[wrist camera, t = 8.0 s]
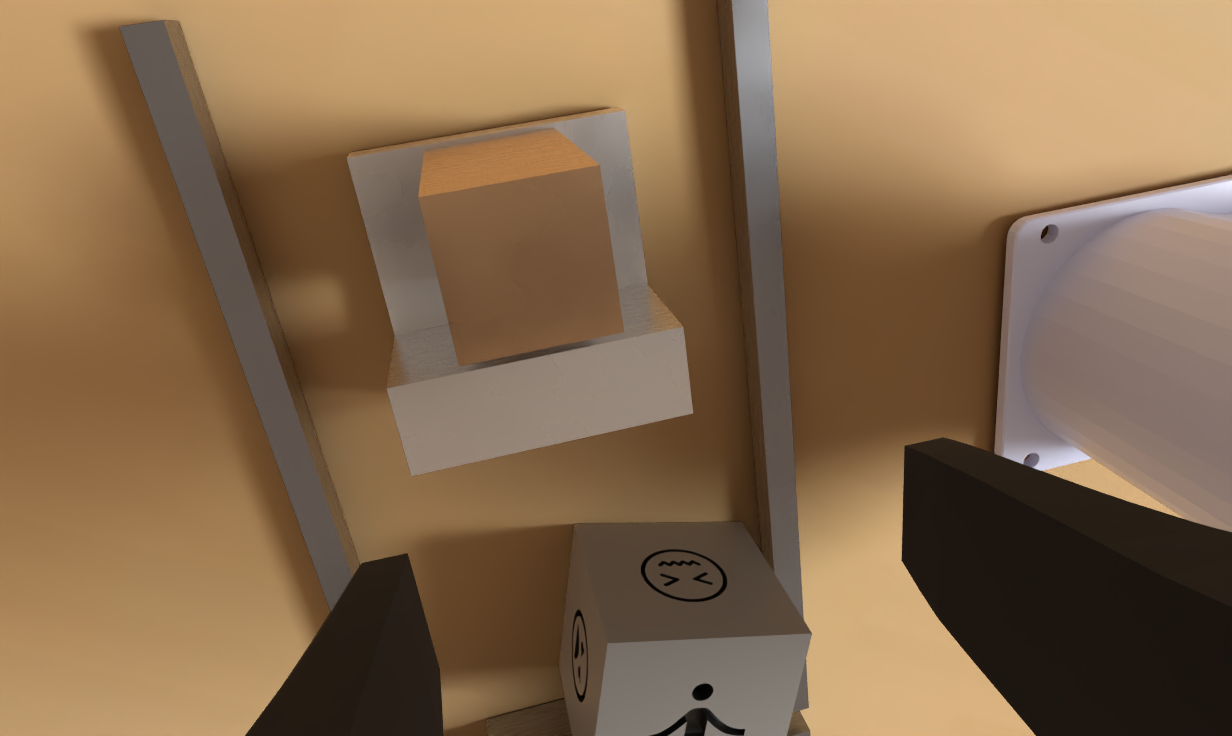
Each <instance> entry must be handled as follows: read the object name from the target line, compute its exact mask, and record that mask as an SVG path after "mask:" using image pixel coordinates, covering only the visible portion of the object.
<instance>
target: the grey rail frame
mask: <svg viewBox="0 0 1232 736" xmlns="http://www.w3.org/2000/svg"><path fill="white" fill-rule="evenodd" d="M717 7H718V20H719V32H720V44H721V56H722V69H723V81H724V93H725V105H726V118H727V130H728V142H729V155H730V167H731V179H732V191H733V204H734V216H735V228H736V241H737V253H738V265H739V277H740V290H741V302H742V314H743V327H744V339H745V351H746V363H747V376H748V388H749V400H750V412H751V425H752V437H753V449H754V462H755V474H756V486H757V498H758V511H759V523H760V535H761V548H762V555H763V556H764V558H765V559H766V561H767V562H768V564H769V566H770V567H771V569H772V570H773V572H774V574H775V575H776V577H777V578H778V580H779V582H780V583H781V585H782V586H783V588H784V590H785V591H786V593H787V594H788V596H789V598H790V599H791V601H792V602H793V604H794V606H795V607H796V609H797V610H798V612H799V614H800V615H801V617H802V618H803V601H802V584H801V567H800V549H799V532H798V515H797V498H796V480H795V463H794V446H793V429H792V412H791V394H790V377H789V360H788V343H787V326H786V308H785V291H784V274H783V257H782V239H781V222H780V205H779V188H778V171H777V153H776V136H775V119H774V102H773V84H772V67H771V50H770V33H769V16H768V0H717ZM119 28H120V31H121V33H122V36H123V39H124V42H125V44H126V47H127V50H128V53H129V55H130V58H131V61H132V64H133V67H134V69H135V72H136V75H137V78H138V80H139V83H140V86H141V89H142V91H143V94H144V97H145V100H146V102H147V105H148V108H149V111H150V114H151V116H152V119H153V122H154V125H155V127H156V130H157V133H158V136H159V138H160V141H161V144H162V147H163V150H164V152H165V155H166V158H167V161H168V163H169V166H170V169H171V172H172V174H173V177H174V180H175V183H176V186H177V188H178V191H179V194H180V197H181V199H182V202H183V205H184V208H185V210H186V213H187V216H188V219H189V221H190V224H191V227H192V230H193V233H194V235H195V238H196V241H197V244H198V246H199V249H200V252H201V255H202V257H203V260H204V263H205V266H206V269H207V271H208V274H209V277H210V280H211V282H212V285H213V288H214V291H215V293H216V296H217V299H218V302H219V305H220V307H221V310H222V313H223V316H224V318H225V321H226V324H227V327H228V329H229V332H230V335H231V338H232V341H233V343H234V346H235V349H236V352H237V354H238V357H239V360H240V363H241V365H242V368H243V371H244V374H245V376H246V379H247V382H248V385H249V388H250V390H251V393H252V396H253V399H254V401H255V404H256V407H257V410H258V412H259V415H260V418H261V421H262V424H263V426H264V429H265V432H266V435H267V437H268V440H269V443H270V446H271V448H272V451H273V454H274V457H275V460H276V462H277V465H278V468H279V471H280V473H281V476H282V479H283V482H284V484H285V487H286V490H287V493H288V495H289V498H290V501H291V504H292V507H293V509H294V512H295V515H296V518H297V520H298V523H299V526H300V529H301V531H302V534H303V537H304V540H305V543H306V545H307V548H308V551H309V554H310V556H311V559H312V562H313V565H314V567H315V570H316V573H317V576H318V579H319V581H320V584H321V587H322V590H323V592H324V595H325V598H326V601H327V603H328V606H329V609H330V612H331V611H332V609H333V607H334V606H335V604H336V603H337V601H338V599H339V598H340V596H341V594H342V593H343V591H344V589H345V588H346V586H347V585H348V583H349V581H350V580H351V578H352V577H353V575H354V573H355V572H356V571H357V569H358V568H359V566H360V564H359V561H358V558H357V555H356V552H355V549H354V546H353V543H352V540H351V537H350V534H349V531H348V528H347V525H346V522H345V519H344V516H343V513H342V510H341V507H340V504H339V501H338V498H337V495H336V492H335V489H334V486H333V483H332V480H331V477H330V474H329V471H328V468H327V465H326V462H325V459H324V456H323V453H322V450H321V447H320V444H319V441H318V438H317V435H316V432H315V429H314V426H313V423H312V420H311V417H310V414H309V411H308V408H307V405H306V402H305V399H304V396H303V393H302V390H301V387H300V384H299V381H298V378H297V375H296V372H295V369H294V366H293V363H292V360H291V357H290V354H289V351H288V348H287V345H286V342H285V339H284V336H283V333H282V330H281V327H280V324H279V321H278V318H277V315H276V312H275V309H274V306H273V303H272V300H271V297H270V294H269V291H268V288H267V285H266V282H265V278H264V275H263V272H262V269H261V266H260V263H259V260H258V257H257V254H256V251H255V248H254V245H253V242H252V239H251V236H250V233H249V230H248V227H247V224H246V221H245V218H244V215H243V212H242V209H241V206H240V203H239V200H238V197H237V194H236V191H235V188H234V185H233V182H232V179H231V176H230V173H229V170H228V167H227V164H226V161H225V158H224V155H223V152H222V149H221V146H220V143H219V140H218V137H217V134H216V131H215V128H214V125H213V122H212V119H211V116H210V113H209V110H208V107H207V104H206V101H205V98H204V95H203V92H202V89H201V86H200V83H199V80H198V77H197V74H196V71H195V68H194V65H193V62H192V59H191V56H190V53H189V50H188V47H187V44H186V41H185V38H184V35H183V32H182V29H181V26H180V23H179V21H169V20H162V21H155V22H148V23H141V24H134V25H127V26H120V27H119ZM803 620H804V618H803ZM806 708H809V704H808V687H807V670H806V660H805V664H804V668H803V672H802V676H801V680H800V684H799V688H798V692H797V696H796V700H795V704H794V709H793V713H792V717H791V721H790V725H789V729H788V733H787V736H810V730H809V728H808V726H807V724H806V722H805V720H804V718H803V716H802V715H801V713H800V711H799V710H803V709H806ZM486 722H487V736H572V733H571V728H570V723H569V717H568V712H567V707H566V702H565V699H562V700H558V701H554V702H550V703H546V704H543V705H539V706H535V707H531V708H527V709H524V710H520V711H516V712H512V713H509V714H505V715H501V716H497V717H493V718H490V719H486Z"/></svg>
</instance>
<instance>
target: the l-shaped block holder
mask: <svg viewBox="0 0 1232 736" xmlns="http://www.w3.org/2000/svg"><path fill="white" fill-rule="evenodd" d="M347 162H348V166H349V169H350V173H351V177H352V180H353V184H354V188H355V191H356V195H357V199H358V202H359V206H360V210H361V213H362V217H363V221H364V224H365V228H366V232H367V235H368V239H369V243H370V246H371V250H372V254H373V257H374V261H375V265H376V269H377V272H378V276H379V280H380V283H381V287H382V291H383V294H384V298H385V302H386V305H387V309H388V313H389V316H390V320H391V324H392V327H393V331H394V341H393V348H392V355H391V361H390V368H389V375H388V382H387V388H386V389H387V392H388V396H389V399H390V403H391V406H392V410H393V413H394V417H395V420H396V424H397V428H398V431H399V435H400V438H401V442H402V445H403V449H404V452H405V456H406V459H407V463H408V466H409V470H410V473H411V476H415V475H419V474H424V473H428V472H433V471H437V470H442V469H446V468H451V467H455V466H460V465H464V464H469V463H473V462H478V461H482V460H487V459H491V458H496V457H500V456H505V455H509V454H514V453H518V452H523V451H527V450H532V449H536V448H541V447H545V446H550V445H554V444H559V443H563V442H568V441H572V440H576V439H581V438H585V437H590V436H594V435H599V434H603V433H608V432H612V431H617V430H621V429H626V428H630V427H635V426H639V425H644V424H648V423H653V422H657V421H662V420H666V419H671V418H675V417H680V416H684V415H689V414H693V406H692V398H691V389H690V380H689V371H688V363H687V354H686V345H685V336H684V327H683V326H682V324H681V323H680V322H679V321H678V320H677V319H676V317H675V316H674V315H673V314H672V313H671V311H670V310H669V309H668V308H667V307H666V305H665V304H664V303H663V302H662V301H661V299H660V298H659V297H658V296H657V295H656V293H655V292H654V291H653V290H652V289H651V287H650V286H649V285H648V282H647V274H646V267H645V259H644V251H643V244H642V236H641V228H640V221H639V213H638V205H637V198H636V190H635V182H634V175H633V167H632V159H631V152H630V144H629V136H628V129H627V121H626V113H625V110H623V109H620V108H618V107H615V108H609V109H603V110H597V111H591V112H585V113H580V114H574V115H568V116H562V117H556V118H550V119H544V120H538V121H533V122H527V123H521V124H515V125H509V126H503V127H497V128H491V129H486V130H480V131H474V132H468V133H462V134H456V135H450V136H445V137H439V138H433V139H427V140H421V141H415V142H409V143H403V144H398V145H392V146H386V147H380V148H374V149H368V150H362V151H356V152H351V153H350V154H349V156H348V157H347Z"/></svg>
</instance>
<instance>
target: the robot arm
mask: <svg viewBox="0 0 1232 736" xmlns="http://www.w3.org/2000/svg"><path fill="white" fill-rule="evenodd" d="M1046 226H1048V232H1047V235H1046V236H1045V237H1044V238H1043V239H1041V233H1042V230H1043V229H1044V228H1045V227H1046ZM1029 454H1030V456H1029V457H1028V459H1027V460H1025V461H1024V459H1025V458H1026V457H1027V455H1029ZM1088 459H1094V460H1095V461H1097V462H1098V463H1100V464H1101V465H1103V466H1104V467H1106V468H1107V469H1109V470H1111V471H1112V472H1114V473H1115V474H1117V475H1118V476H1120V477H1121V478H1123V479H1124V480H1126V481H1127V482H1129V483H1131V484H1132V485H1134V486H1135V487H1137V488H1138V489H1140V490H1141V491H1143V492H1144V493H1146V494H1147V495H1149V496H1151V497H1152V498H1154V499H1155V500H1157V501H1158V502H1160V503H1161V504H1163V505H1164V506H1166V507H1167V508H1169V509H1171V510H1172V511H1174V512H1175V513H1177V514H1178V515H1180V516H1181V517H1183V518H1184V519H1182V518H1178V517H1175V516H1172V515H1169V514H1166V513H1163V512H1159V511H1156V510H1153V509H1150V508H1147V507H1144V506H1140V505H1137V504H1134V503H1131V502H1128V501H1125V500H1122V499H1119V498H1116V497H1113V496H1110V495H1107V494H1104V493H1101V492H1098V491H1096V490H1093V489H1090V488H1087V487H1084V486H1081V485H1079V484H1076V483H1073V482H1070V481H1067V480H1065V479H1062V478H1059V477H1056V476H1054V475H1051V474H1048V473H1046V472H1043V471H1044V470H1048V469H1052V468H1056V467H1060V466H1064V465H1068V464H1072V463H1076V462H1080V461H1084V460H1088ZM1185 519H1186V520H1185ZM902 562H903V563H904V565H905V567H906V568H907V570H908V572H909V573H910V575H911V577H912V578H913V580H914V582H915V583H916V585H917V586H918V588H919V590H920V591H921V593H922V595H923V596H924V598H925V599H926V601H927V602H928V604H929V605H930V607H931V608H932V610H933V611H934V613H935V614H936V616H937V617H938V619H939V620H940V621H941V622H942V624H943V625H944V626H945V627H946V629H947V630H948V631H949V632H950V634H951V635H952V636H953V637H954V638H955V640H956V641H957V642H958V643H959V645H960V646H961V647H962V648H963V649H964V651H965V652H966V653H967V654H968V655H969V657H970V658H971V659H972V660H973V661H974V663H975V664H976V665H977V666H978V667H979V669H980V670H981V671H982V672H983V673H984V674H985V676H986V677H987V678H988V679H989V680H990V682H991V683H992V684H993V685H994V686H995V688H996V689H997V690H998V691H999V692H1000V693H1001V695H1002V696H1003V697H1004V698H1005V699H1006V701H1007V702H1008V703H1009V704H1010V705H1011V706H1012V708H1013V709H1014V710H1015V711H1016V712H1017V714H1018V715H1019V716H1020V717H1021V718H1022V720H1023V721H1024V722H1025V723H1026V724H1027V725H1028V727H1029V728H1030V729H1031V730H1032V731H1033V733H1034V734H1035V735H1036V736H1232V175H1228V176H1223V177H1218V178H1213V179H1208V180H1203V181H1198V182H1193V183H1188V184H1183V185H1178V186H1173V187H1168V188H1163V189H1158V190H1153V191H1148V192H1143V193H1138V194H1133V195H1128V196H1123V197H1119V198H1114V199H1109V200H1104V201H1099V202H1094V203H1089V204H1084V205H1079V206H1074V207H1069V208H1064V209H1059V210H1054V211H1049V212H1044V213H1039V214H1034V215H1029V216H1025V217H1022V218H1020V219H1018V220H1017V221H1016V222H1015V223H1013V224H1012V226H1011V228H1010V229H1009V231H1008V236H1007V245H1006V262H1005V280H1004V297H1003V314H1002V331H1001V348H1000V365H999V382H998V399H997V416H996V433H995V450H994V453H991V452H988V451H985V450H982V449H980V448H977V447H974V446H971V445H968V444H964V443H961V442H958V441H954V440H951V439H947V438H939V439H934V440H930V441H925V442H920V443H916V444H911V445H906V446H905V451H904V491H903V531H902ZM245 736H443V716H442V698H441V682H440V669H439V665H438V661H437V658H436V654H435V651H434V647H433V643H432V640H431V636H430V632H429V629H428V625H427V622H426V618H425V614H424V611H423V607H422V604H421V600H420V596H419V593H418V589H417V585H416V582H415V578H414V575H413V571H412V567H411V564H410V560H409V556H408V553H407V554H402V555H397V556H393V557H388V558H383V559H379V560H374V561H370V562H365V563H362V564H361V565H360V566H359V568H358V569H357V571H356V572H355V573H354V575H353V577H352V578H351V580H350V581H349V583H348V585H347V586H346V588H345V589H344V591H343V593H342V594H341V596H340V598H339V599H338V601H337V603H336V604H335V606H334V607H333V609H332V611H331V612H330V614H329V615H328V617H327V619H326V620H325V622H324V623H323V625H322V627H321V628H320V630H319V631H318V633H317V634H316V636H315V638H314V639H313V641H312V642H311V644H310V645H309V647H308V648H307V650H306V651H305V653H304V654H303V656H302V657H301V659H300V660H299V662H298V663H297V665H296V666H295V668H294V669H293V670H292V672H291V673H290V675H289V676H288V678H287V679H286V681H285V682H284V684H283V685H282V687H281V688H280V689H279V691H278V692H277V693H276V695H275V696H274V698H273V699H272V700H271V702H270V703H269V704H268V706H267V707H266V708H265V710H264V711H263V712H262V714H261V715H260V716H259V718H258V719H257V720H256V722H255V723H254V724H253V726H252V727H251V728H250V730H249V731H248V732H247V734H246V735H245Z"/></svg>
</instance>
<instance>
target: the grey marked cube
mask: <svg viewBox="0 0 1232 736" xmlns="http://www.w3.org/2000/svg"><path fill="white" fill-rule="evenodd" d="M811 635H812V633H811V631H810V630H809V628H808V626H807V625H806V623H805V622H804V620H803V618H802V617H801V615H800V614H799V612H798V610H797V609H796V607H795V606H794V604H793V602H792V601H791V599H790V598H789V596H788V594H787V593H786V591H785V590H784V588H783V586H782V585H781V583H780V582H779V580H778V578H777V577H776V575H775V574H774V572H773V570H772V569H771V567H770V566H769V564H768V562H767V561H766V559H765V558H764V556H763V555H762V553H761V551H760V550H759V548H758V547H757V545H756V543H755V542H754V540H753V539H752V537H751V535H750V534H749V532H748V531H747V529H746V527H745V526H744V524H743V523H742V521H739V522H660V523H581V524H574V530H573V539H572V548H571V557H570V566H569V575H568V584H567V593H566V603H565V612H564V621H563V630H562V639H561V648H560V657H559V670H560V676H561V681H562V686H563V691H564V696H565V702H566V707H567V712H568V717H569V723H570V728H571V733H572V736H787V733H788V729H789V725H790V721H791V717H792V713H793V709H794V704H795V700H796V696H797V692H798V688H799V684H800V680H801V676H802V672H803V668H804V664H805V660H806V656H807V652H808V648H809V643H810V639H811Z"/></svg>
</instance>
